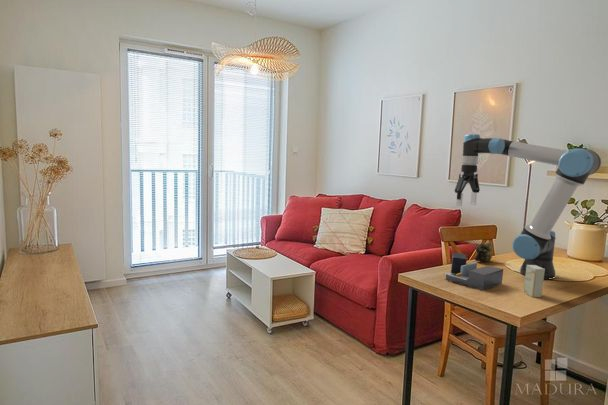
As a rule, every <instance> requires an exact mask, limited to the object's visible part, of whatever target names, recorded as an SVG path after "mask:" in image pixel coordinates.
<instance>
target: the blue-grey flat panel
mask: <svg viewBox="0 0 608 405" xmlns="http://www.w3.org/2000/svg"><path fill="white" fill-rule="evenodd" d="M477 265H478V263H477V262H476V261H474V262H471V263H466V265H462V266H461V272H460V273H458V274H456V276H458V275H461V276H464V277H468V278H469V271H470V270H474V269H477V267H478V266H477Z"/></svg>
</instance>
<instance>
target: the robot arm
mask: <svg viewBox="0 0 608 405" xmlns="http://www.w3.org/2000/svg"><path fill="white" fill-rule="evenodd" d="M462 146H463V147H462V148H463V149H462V158H461V164H462V165H461V172H463V173H459V175H458V179H457V183H456V185H455V188H454V193H456V202H455V203H456V204H455V206H456V207H463V197H464V196H463V195H464V194H463V191H464V189H465V188H466V186H467V184H468V183H469V186H470V188H471V192H470V193H471V195H470V202H469V203H470V204H469V205H474V206H476V205H477V197H478V196H477V195H478V194H477V193H480V191H481V190H480V185H479V184H480V183H479V178H478V175H479V174H478V173H477V172H478V162H479V154H489V155H490V154H491V155H492V154H493V155H503V156H508V157H513V158H519V159H522V160H523V159H524V160H528V161H533V162H539V163H542V164H547V165H553V166H558V168H557V169H556V171H555V173H554V174H555V176H556V179H555V181H554V182H553V184H552V185H551V188H550V189H549V191H548V193H547V194H546V196H545V197H544V200H543V201H542V203H541V205H540V207H539V209H538V210H537V212H536V214H535V216H534V217H533V219H532V220H531V222H530V224H526V225H525V226H523V229H522V231H521V232H520V233H519V235H517V236H516V237H515V238H514V239H513V240H512V245H511V246H512V249H513V252H514V253H515V254H516V256H517V257H519V258H520V259H523V262H522V264H521V266H520V270H519V272H520V274H521V275H523V276H525V274H526V267H527V265H537V266H539V267H541V268H543V269H545V273H544V280H550V279H549V278H553V277H555V278H556V270H555V266H554V252H555V251H554V250H555V244H556V239H557V238H556V232H555V231H554V230H553V228H554V227H555V225H556V224H557V221H558V219H559V218H560V216H561V215H562V213H563V212H564V210H565V208H566V206H567V205H568V203H569V202H570V200H571V198H572V196H573V195H574V193H575V191H576V190H577V189H578V187H580V186H583V185H584V184H585V183H586V181H587V179H588V178H589V177H590V176H592V175H593V174H595V173H596V172H598V170H599V169H600V167H601V164H602V160H601V157H600V155H599V154H598V153H597V152H596V151H593V150H592V149H585V148H570V149H568V150H567V149H566V150H565V149H560V148H555V147H554V148H553V147H548V146H544V145H537V144H530V143H525V142H519V141H515V140H514V141H513V140H509V139H504V138H500V137H491V138H490V137H489V138H487V137H486V138H484V137H483V138H481V137H480V134H477V133H475V134H474V133H472V134H471V133H469V134H465V135H464V136H463V145H462Z"/></svg>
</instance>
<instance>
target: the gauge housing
mask: <svg viewBox="0 0 608 405" xmlns="http://www.w3.org/2000/svg"><path fill="white" fill-rule="evenodd" d="M444 275H445V281H450V282H453V283H456V284H460V285H462V286H466V287H470V288H473V289H476V290H480V291H486V290H488V289H492V288H495V287H498V286H501V285H503V275H504V268H500V267H496V266H492V265H486V266H481V267H478V268H476V269H474V270H470V271H469V278H468V277H464V276H461V275H458V276H456V274H454V273H451V271H450V272H449V271H446V272H444Z"/></svg>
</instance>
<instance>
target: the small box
mask: <svg viewBox="0 0 608 405" xmlns="http://www.w3.org/2000/svg"><path fill="white" fill-rule="evenodd" d="M466 264H467V254H464V253H459V252H458V253H457V252H452V257H451V267H450V273H454V274H458V273H460V272H461V266H462V265H466Z"/></svg>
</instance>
